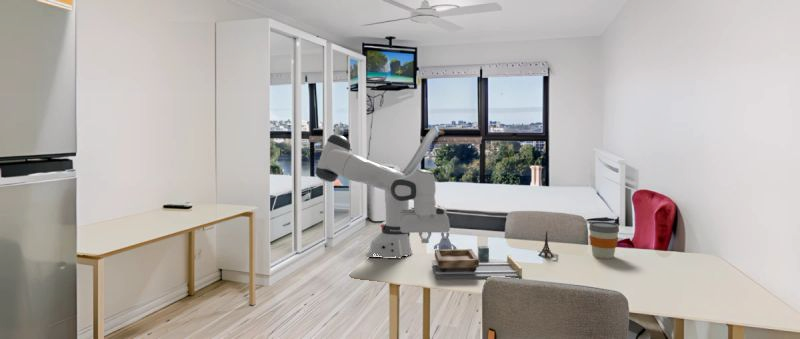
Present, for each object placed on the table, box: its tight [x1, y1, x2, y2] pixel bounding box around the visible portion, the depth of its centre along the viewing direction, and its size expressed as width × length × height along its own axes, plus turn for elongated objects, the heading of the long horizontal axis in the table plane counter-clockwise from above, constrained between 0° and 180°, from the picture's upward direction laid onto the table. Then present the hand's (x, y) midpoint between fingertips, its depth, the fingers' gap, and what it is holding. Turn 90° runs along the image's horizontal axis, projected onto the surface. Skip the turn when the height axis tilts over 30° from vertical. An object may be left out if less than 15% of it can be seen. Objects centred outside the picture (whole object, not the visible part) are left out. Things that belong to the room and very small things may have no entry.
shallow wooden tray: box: [434, 248, 480, 272], centre depth 179 cm, size 16×16×6 cm
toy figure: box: [433, 231, 458, 250], centre depth 199 cm, size 11×6×12 cm, turn 77°
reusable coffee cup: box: [588, 221, 620, 259], centre depth 200 cm, size 13×12×15 cm
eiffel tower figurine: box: [537, 230, 559, 263], centre depth 200 cm, size 15×10×13 cm
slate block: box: [477, 245, 490, 262], centre depth 195 cm, size 4×4×6 cm
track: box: [431, 255, 523, 280], centre depth 179 cm, size 34×18×4 cm, turn 91°
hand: (425, 242), depth 176 cm, fingers closed
